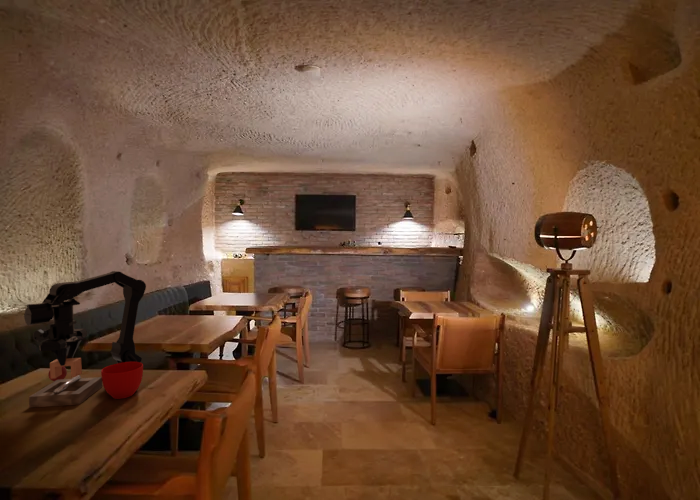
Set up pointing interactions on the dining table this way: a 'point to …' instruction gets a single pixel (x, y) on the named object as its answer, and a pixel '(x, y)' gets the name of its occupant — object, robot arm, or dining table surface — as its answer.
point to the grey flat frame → (65, 392)
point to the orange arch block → (73, 362)
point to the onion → (64, 373)
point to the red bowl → (122, 379)
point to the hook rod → (66, 384)
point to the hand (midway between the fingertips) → (66, 363)
